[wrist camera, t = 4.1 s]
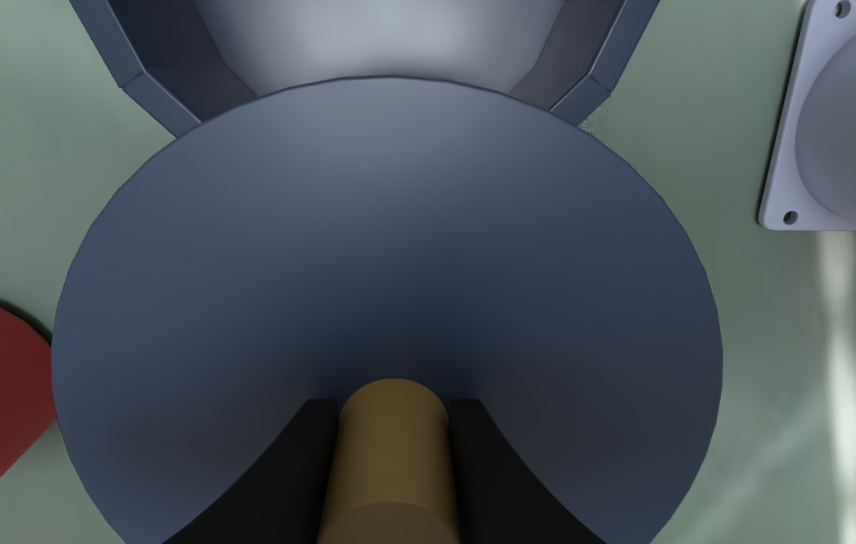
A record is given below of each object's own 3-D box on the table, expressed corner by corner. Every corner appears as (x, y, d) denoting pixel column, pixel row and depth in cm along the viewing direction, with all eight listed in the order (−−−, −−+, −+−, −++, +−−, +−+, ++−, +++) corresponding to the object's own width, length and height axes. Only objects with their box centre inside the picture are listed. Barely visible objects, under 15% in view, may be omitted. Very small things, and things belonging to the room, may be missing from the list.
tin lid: (764, 80, 11) (992, 97, 7) (646, 610, 16) (733, 812, 12) (7, 65, 11) (-271, 72, 6) (135, 617, 16) (31, 831, 12)
